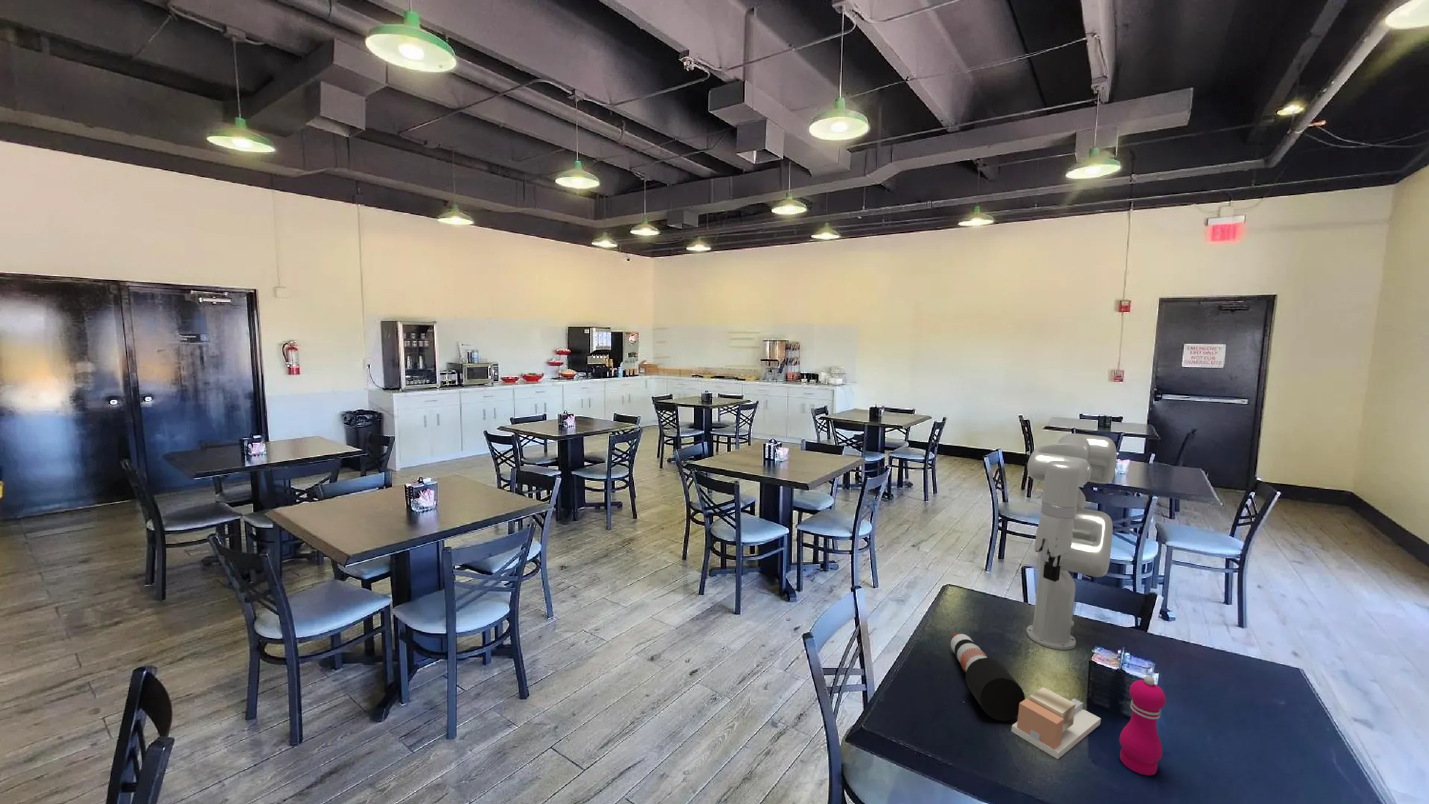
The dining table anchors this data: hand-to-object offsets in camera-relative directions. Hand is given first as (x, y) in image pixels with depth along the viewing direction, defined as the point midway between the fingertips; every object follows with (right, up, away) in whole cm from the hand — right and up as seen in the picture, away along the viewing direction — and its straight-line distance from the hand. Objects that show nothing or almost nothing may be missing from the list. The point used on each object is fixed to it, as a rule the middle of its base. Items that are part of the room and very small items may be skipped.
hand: (1050, 578), depth 148 cm
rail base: (-8, -29, -16) cm, 34 cm away
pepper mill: (+3, -31, -26) cm, 41 cm away
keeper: (-11, -26, -18) cm, 34 cm away
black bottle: (-18, -27, +2) cm, 33 cm away
